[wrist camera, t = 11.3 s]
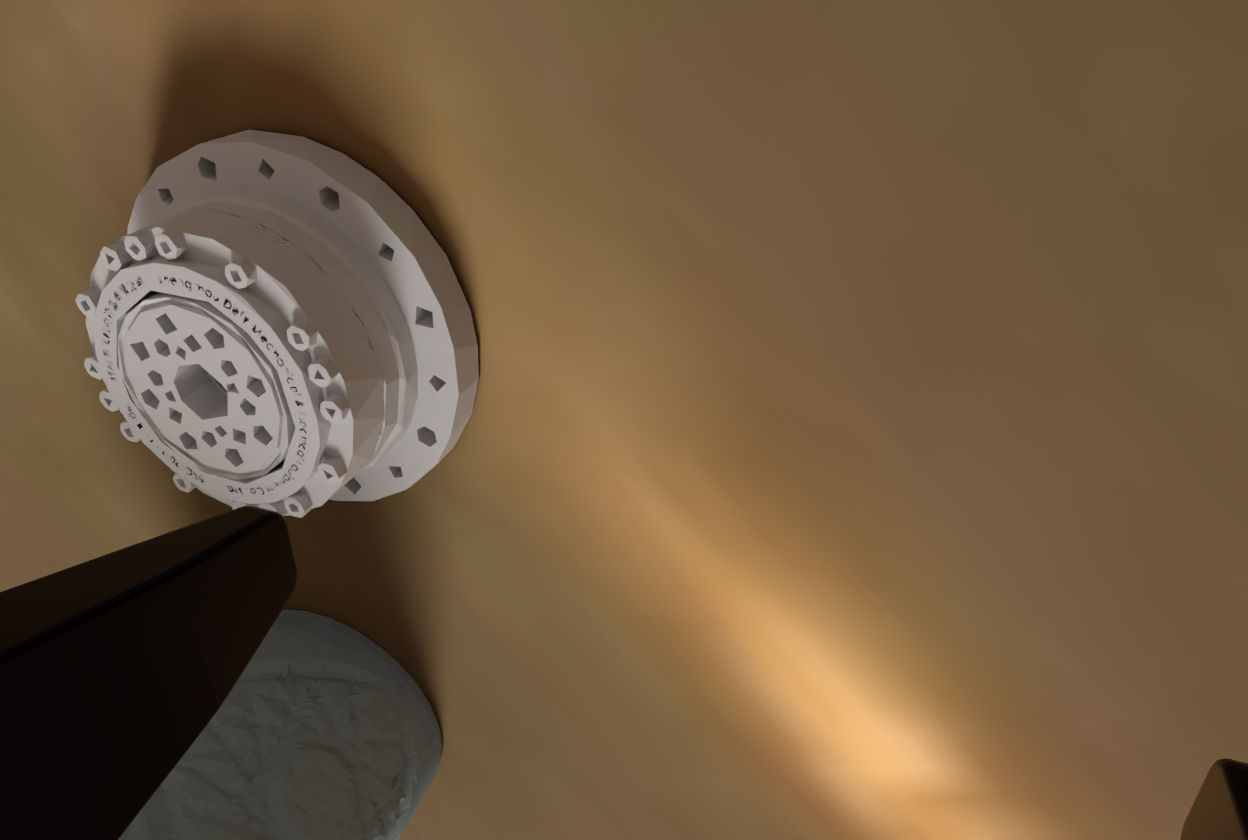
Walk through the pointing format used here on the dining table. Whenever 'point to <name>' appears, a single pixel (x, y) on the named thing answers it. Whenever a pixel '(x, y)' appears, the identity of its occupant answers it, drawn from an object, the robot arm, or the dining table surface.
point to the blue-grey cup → (304, 746)
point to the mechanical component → (281, 327)
